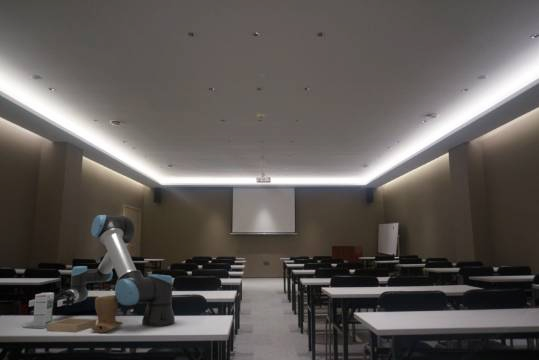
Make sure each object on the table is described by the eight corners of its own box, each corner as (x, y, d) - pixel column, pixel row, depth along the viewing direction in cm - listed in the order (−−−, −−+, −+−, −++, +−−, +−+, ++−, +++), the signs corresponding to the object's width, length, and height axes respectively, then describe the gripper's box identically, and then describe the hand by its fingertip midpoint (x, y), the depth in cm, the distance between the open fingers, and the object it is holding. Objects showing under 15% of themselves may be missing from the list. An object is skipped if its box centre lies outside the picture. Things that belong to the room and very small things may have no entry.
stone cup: (100, 326, 177) (103, 293, 179) (125, 326, 176) (127, 293, 179) (83, 333, 162) (86, 297, 164) (110, 333, 161) (112, 297, 164)
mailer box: (112, 320, 190) (112, 314, 190) (76, 332, 164) (77, 324, 165) (85, 319, 192) (86, 313, 193) (46, 330, 167) (47, 323, 168)
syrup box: (44, 326, 175) (47, 293, 177) (32, 326, 175) (35, 293, 177) (51, 323, 180) (54, 292, 183) (39, 323, 180) (42, 292, 183)
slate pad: (61, 323, 182) (61, 323, 182) (43, 328, 171) (43, 327, 171) (41, 323, 184) (41, 322, 184) (22, 327, 173) (22, 327, 173)
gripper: (90, 304, 199) (69, 311, 178) (44, 304, 199) (17, 311, 178) (91, 290, 200) (70, 295, 179) (45, 290, 201) (18, 295, 180)
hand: (43, 303), depth 179 cm, fingers open, 13 cm apart
